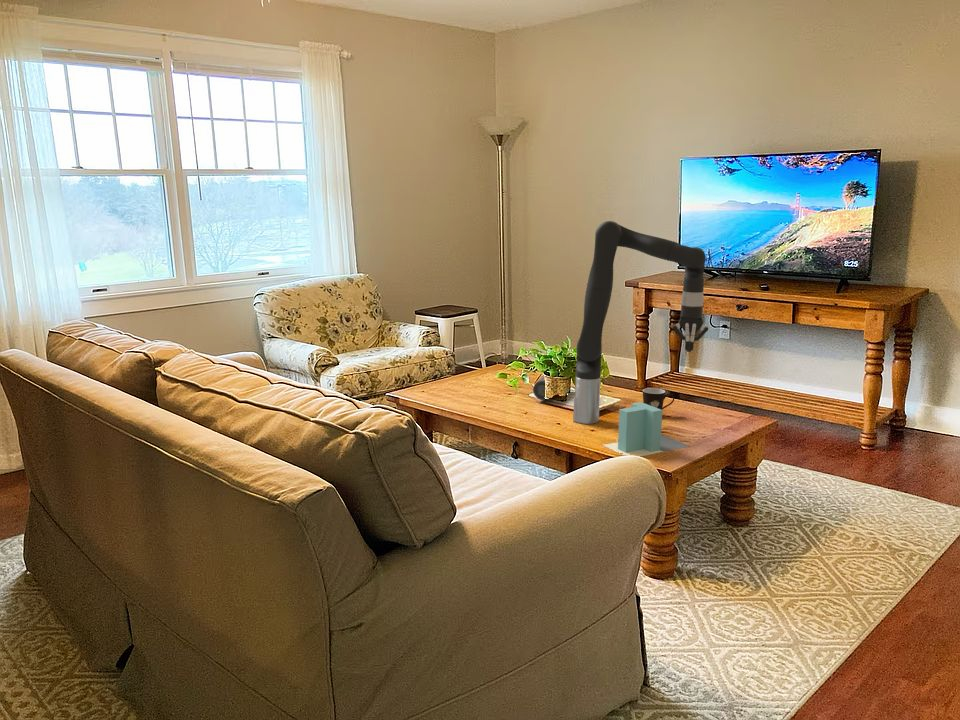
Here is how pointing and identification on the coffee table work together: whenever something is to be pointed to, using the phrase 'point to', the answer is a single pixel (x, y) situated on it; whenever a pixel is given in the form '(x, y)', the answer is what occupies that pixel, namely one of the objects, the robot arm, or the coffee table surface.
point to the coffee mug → (655, 397)
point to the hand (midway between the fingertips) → (689, 351)
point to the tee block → (639, 428)
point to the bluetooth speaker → (539, 389)
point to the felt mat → (665, 445)
